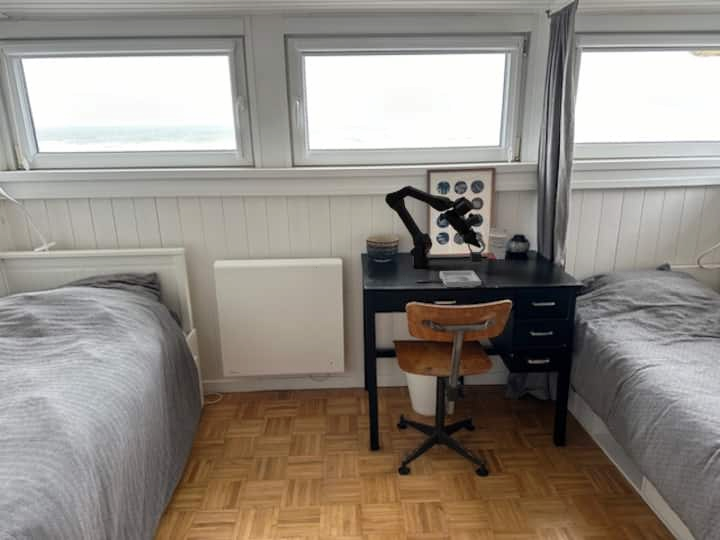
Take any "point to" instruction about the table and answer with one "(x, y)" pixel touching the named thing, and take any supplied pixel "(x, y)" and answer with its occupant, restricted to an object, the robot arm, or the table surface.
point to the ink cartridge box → (497, 243)
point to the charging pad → (457, 278)
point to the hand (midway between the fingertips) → (479, 245)
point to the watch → (477, 255)
